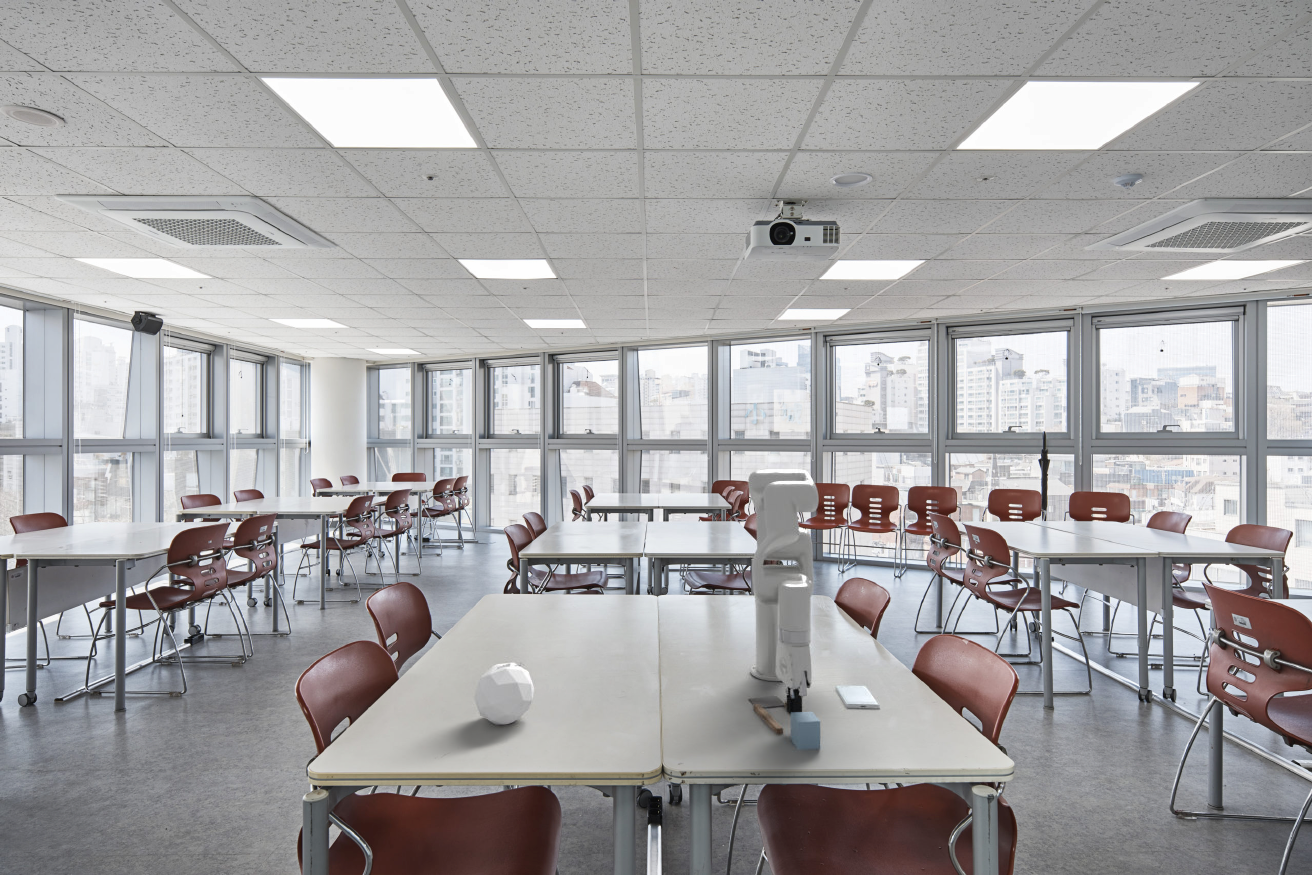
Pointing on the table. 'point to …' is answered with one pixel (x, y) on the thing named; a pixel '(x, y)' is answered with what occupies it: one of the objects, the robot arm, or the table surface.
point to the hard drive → (857, 697)
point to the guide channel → (768, 703)
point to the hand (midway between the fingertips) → (794, 712)
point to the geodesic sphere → (504, 693)
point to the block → (805, 730)
